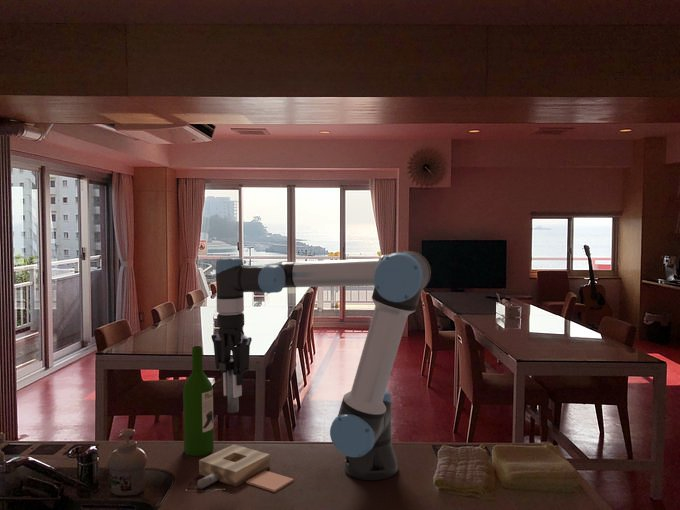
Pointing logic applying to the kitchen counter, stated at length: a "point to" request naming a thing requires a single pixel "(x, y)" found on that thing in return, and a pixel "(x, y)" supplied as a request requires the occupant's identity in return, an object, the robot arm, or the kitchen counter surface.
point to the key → (230, 385)
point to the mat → (270, 481)
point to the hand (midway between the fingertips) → (232, 395)
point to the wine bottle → (198, 409)
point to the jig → (232, 466)
